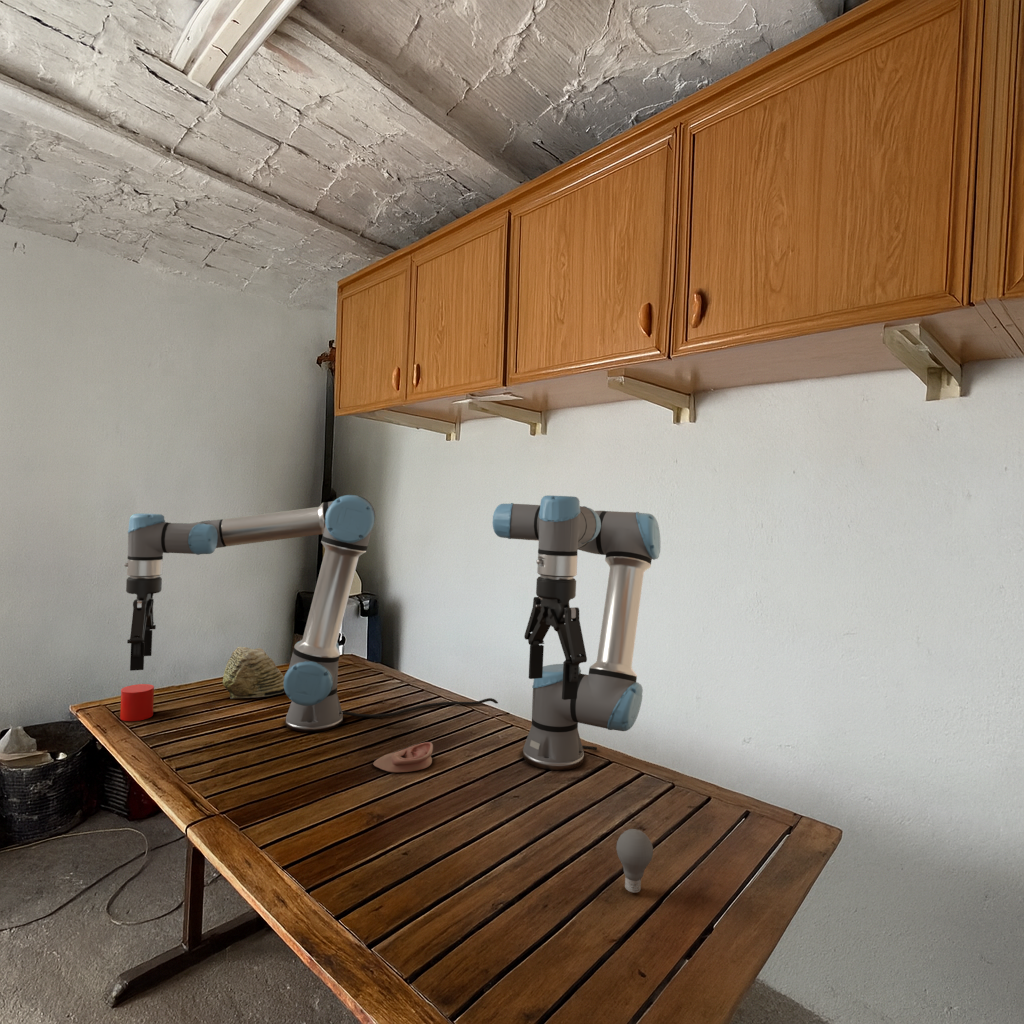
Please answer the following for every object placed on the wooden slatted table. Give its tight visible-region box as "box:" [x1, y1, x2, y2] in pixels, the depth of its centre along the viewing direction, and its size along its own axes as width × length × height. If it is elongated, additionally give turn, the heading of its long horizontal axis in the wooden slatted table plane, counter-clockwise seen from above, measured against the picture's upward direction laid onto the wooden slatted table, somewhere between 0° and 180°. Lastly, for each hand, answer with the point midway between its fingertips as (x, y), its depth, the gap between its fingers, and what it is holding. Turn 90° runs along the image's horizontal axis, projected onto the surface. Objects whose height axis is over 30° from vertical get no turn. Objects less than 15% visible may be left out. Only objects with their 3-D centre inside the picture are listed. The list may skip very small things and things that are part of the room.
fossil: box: [222, 646, 285, 699], centre depth 198 cm, size 9×18×15 cm, turn 132°
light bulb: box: [615, 828, 654, 894], centre depth 106 cm, size 6×6×10 cm
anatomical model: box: [372, 741, 434, 773], centre depth 152 cm, size 13×4×12 cm
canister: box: [119, 683, 155, 722], centre depth 175 cm, size 8×8×8 cm
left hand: (141, 662), depth 156 cm, fingers open, 13 cm apart
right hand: (551, 688), depth 121 cm, fingers open, 13 cm apart
